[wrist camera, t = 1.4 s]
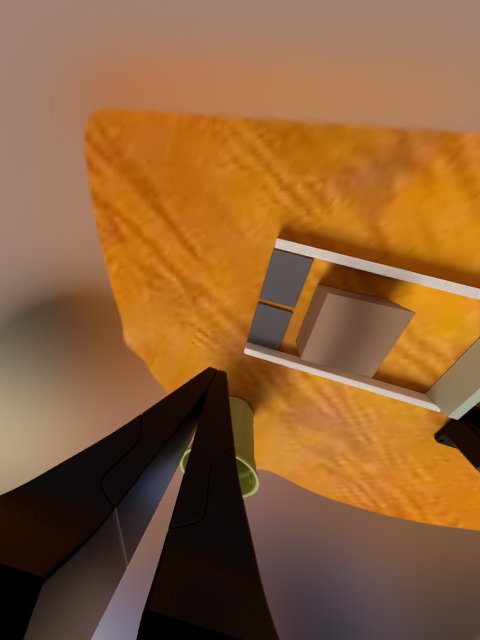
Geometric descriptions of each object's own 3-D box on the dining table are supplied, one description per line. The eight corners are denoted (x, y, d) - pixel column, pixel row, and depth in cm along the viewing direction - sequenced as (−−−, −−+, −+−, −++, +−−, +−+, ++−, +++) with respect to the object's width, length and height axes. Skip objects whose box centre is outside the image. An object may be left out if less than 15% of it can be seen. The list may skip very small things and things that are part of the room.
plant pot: (202, 419, 30) (177, 481, 22) (209, 379, 26) (182, 437, 18) (254, 436, 29) (247, 506, 21) (270, 398, 25) (269, 467, 17)
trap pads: (313, 259, 17) (313, 259, 17) (277, 349, 22) (278, 350, 22) (273, 249, 17) (273, 249, 17) (247, 340, 22) (247, 341, 22)
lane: (529, 301, 15) (583, 314, 13) (428, 401, 21) (451, 424, 18) (276, 238, 17) (277, 237, 14) (245, 346, 22) (241, 360, 20)
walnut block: (386, 298, 18) (415, 312, 14) (354, 354, 21) (371, 377, 17) (317, 283, 18) (328, 293, 15) (295, 339, 21) (300, 359, 18)
